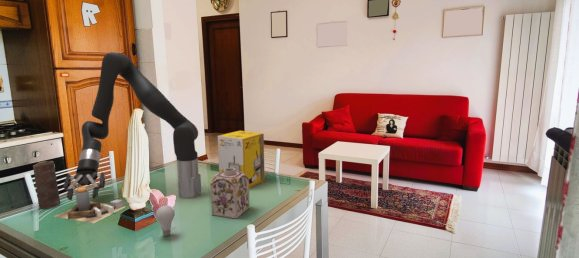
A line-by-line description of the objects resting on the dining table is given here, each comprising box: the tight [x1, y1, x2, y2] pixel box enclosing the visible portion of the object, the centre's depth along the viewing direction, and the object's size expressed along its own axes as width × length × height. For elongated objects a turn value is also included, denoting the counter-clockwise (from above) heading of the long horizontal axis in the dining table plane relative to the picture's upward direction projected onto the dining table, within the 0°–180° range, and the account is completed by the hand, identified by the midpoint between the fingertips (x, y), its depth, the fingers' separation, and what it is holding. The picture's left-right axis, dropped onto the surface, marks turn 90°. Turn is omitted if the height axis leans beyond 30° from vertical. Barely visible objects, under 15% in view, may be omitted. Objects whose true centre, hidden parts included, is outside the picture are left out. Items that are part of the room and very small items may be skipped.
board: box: [53, 200, 126, 224], centre depth 137 cm, size 20×16×1 cm
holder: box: [67, 202, 101, 220], centre depth 135 cm, size 9×9×2 cm
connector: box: [75, 186, 91, 211], centre depth 135 cm, size 4×4×10 cm
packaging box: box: [217, 130, 266, 189], centre depth 172 cm, size 16×16×25 cm
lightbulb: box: [155, 205, 176, 237], centre depth 118 cm, size 6×6×11 cm
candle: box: [32, 160, 61, 210], centre depth 142 cm, size 8×7×20 cm
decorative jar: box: [210, 168, 250, 219], centre depth 137 cm, size 12×12×18 cm
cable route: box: [86, 199, 124, 218], centre depth 136 cm, size 7×14×3 cm, turn 162°
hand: (81, 198), depth 133 cm, fingers open, 8 cm apart
